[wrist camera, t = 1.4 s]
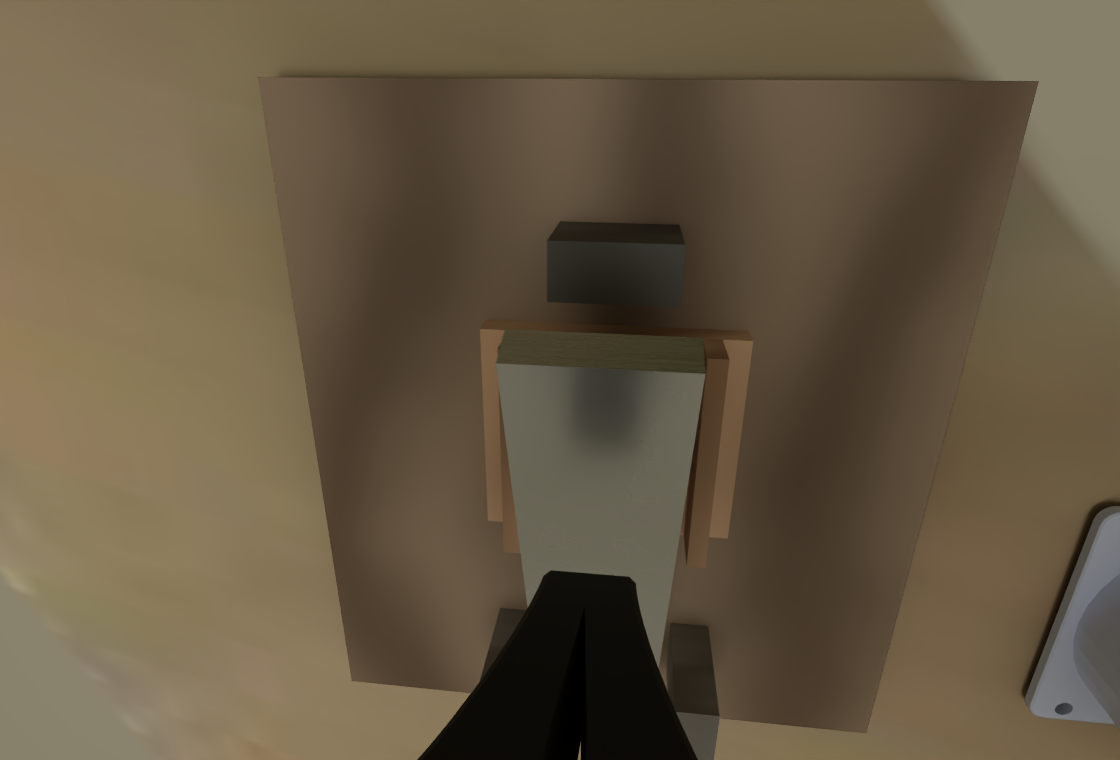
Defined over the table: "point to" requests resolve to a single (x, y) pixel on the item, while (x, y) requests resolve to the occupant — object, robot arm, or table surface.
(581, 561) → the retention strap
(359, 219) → the strap board
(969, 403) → the table surface
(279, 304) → the table surface
